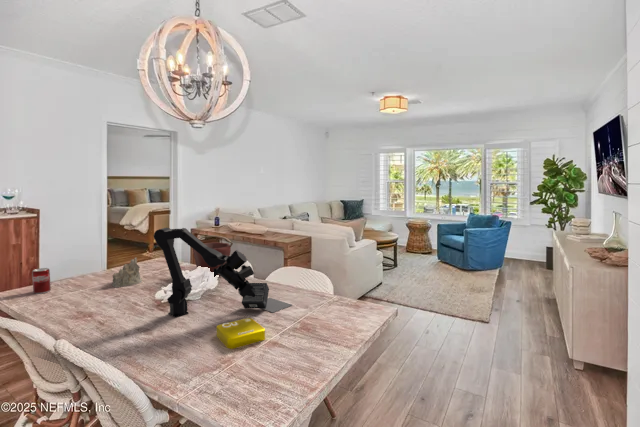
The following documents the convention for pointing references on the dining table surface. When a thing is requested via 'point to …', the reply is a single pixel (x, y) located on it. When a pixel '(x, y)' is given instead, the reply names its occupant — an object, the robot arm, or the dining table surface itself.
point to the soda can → (41, 280)
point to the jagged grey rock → (127, 275)
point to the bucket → (220, 247)
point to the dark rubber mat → (275, 305)
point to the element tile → (240, 333)
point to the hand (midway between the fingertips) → (254, 295)
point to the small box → (257, 296)
